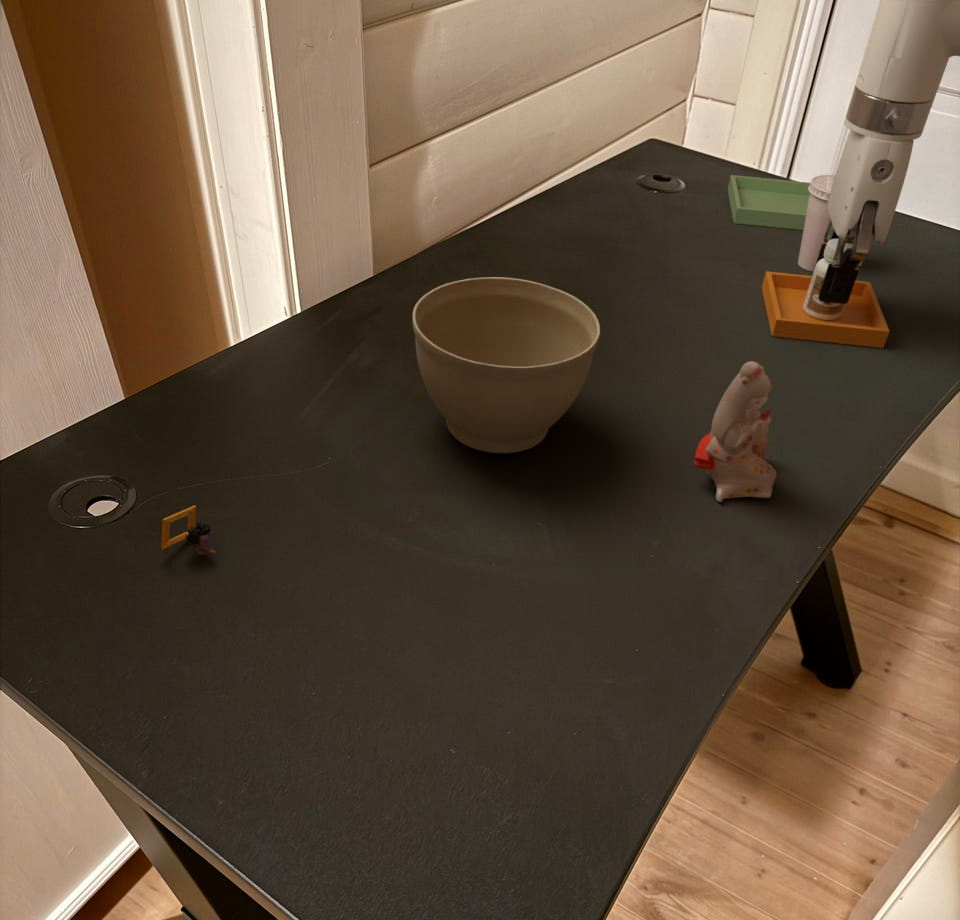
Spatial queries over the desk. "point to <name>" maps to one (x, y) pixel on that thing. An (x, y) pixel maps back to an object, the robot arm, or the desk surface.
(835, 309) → the pill bottle
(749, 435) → the figurine
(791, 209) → the sage tray
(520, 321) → the planter bowl
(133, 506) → the desk surface
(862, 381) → the desk surface
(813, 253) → the smoothie
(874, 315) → the amber tray
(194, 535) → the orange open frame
